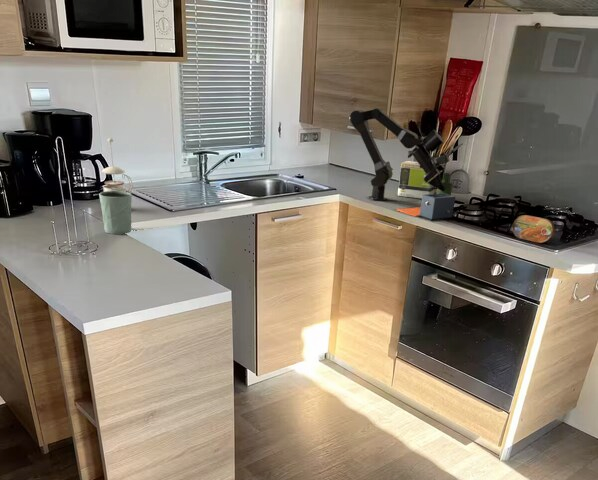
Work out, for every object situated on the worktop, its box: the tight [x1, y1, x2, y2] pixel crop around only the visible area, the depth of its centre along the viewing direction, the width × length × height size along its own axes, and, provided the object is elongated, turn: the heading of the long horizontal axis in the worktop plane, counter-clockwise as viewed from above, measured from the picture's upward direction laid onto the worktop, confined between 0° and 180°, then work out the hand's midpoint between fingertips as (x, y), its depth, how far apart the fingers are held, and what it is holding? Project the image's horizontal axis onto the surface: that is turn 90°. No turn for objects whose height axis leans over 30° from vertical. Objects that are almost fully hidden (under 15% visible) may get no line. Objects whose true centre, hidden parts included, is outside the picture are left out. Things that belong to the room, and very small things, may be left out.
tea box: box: [397, 160, 436, 200], centre depth 278 cm, size 15×10×15 cm, turn 65°
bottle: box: [435, 172, 454, 196], centre depth 259 cm, size 6×6×14 cm
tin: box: [512, 214, 556, 244], centre depth 217 cm, size 15×3×8 cm, turn 45°
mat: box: [396, 206, 421, 217], centre depth 251 cm, size 12×14×1 cm
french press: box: [101, 137, 133, 193], centre depth 223 cm, size 10×12×25 cm
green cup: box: [98, 191, 133, 235], centre depth 198 cm, size 10×10×12 cm
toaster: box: [418, 193, 456, 222], centre depth 242 cm, size 8×12×9 cm, turn 122°
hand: (445, 189), depth 259 cm, fingers open, 9 cm apart
